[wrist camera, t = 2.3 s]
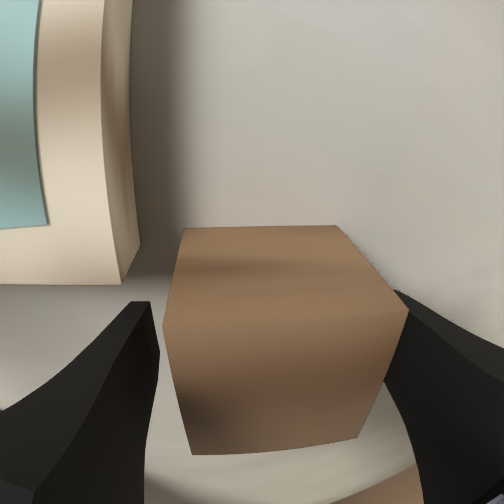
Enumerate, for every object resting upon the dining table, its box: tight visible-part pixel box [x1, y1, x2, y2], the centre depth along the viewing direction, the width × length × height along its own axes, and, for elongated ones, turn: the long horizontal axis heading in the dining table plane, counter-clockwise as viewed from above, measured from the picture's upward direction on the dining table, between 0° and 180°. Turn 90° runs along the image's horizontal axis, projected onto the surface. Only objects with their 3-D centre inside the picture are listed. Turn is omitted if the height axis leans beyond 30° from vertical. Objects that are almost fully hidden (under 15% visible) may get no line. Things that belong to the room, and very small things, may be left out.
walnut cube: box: [162, 225, 409, 455], centre depth 9 cm, size 5×5×5 cm
